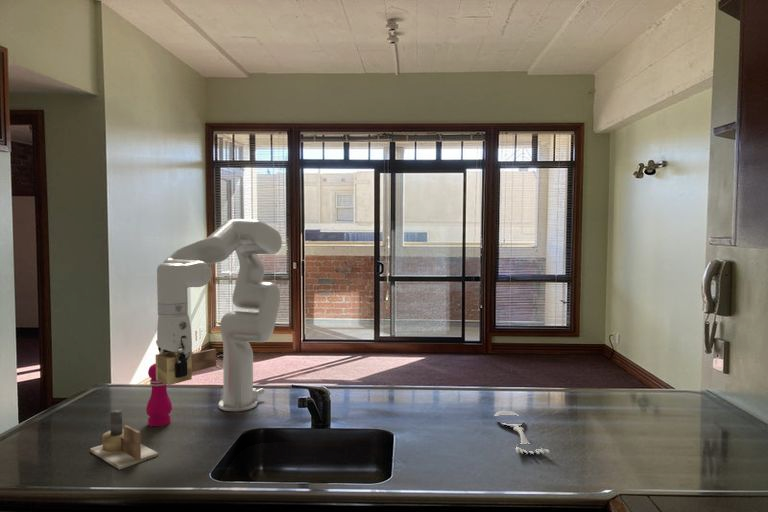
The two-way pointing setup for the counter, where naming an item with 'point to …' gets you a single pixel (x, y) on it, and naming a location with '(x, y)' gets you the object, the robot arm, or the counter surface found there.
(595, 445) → the counter surface
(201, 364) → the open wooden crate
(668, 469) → the counter surface
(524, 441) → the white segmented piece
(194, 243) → the robot arm
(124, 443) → the hinge base
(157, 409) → the pepper mill
